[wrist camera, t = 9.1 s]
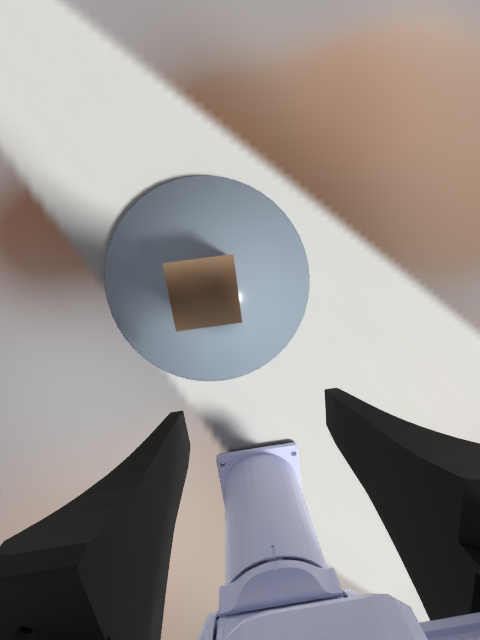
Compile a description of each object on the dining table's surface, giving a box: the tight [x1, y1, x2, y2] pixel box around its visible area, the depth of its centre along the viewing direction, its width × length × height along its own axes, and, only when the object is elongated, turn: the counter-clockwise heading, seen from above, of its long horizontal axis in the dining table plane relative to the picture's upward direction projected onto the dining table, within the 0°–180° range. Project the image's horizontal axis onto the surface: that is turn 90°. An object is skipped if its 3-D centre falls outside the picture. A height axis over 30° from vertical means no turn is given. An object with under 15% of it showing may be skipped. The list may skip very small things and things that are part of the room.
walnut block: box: [162, 254, 242, 332], centre depth 16 cm, size 4×4×5 cm
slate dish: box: [104, 175, 309, 381], centre depth 19 cm, size 16×16×1 cm
